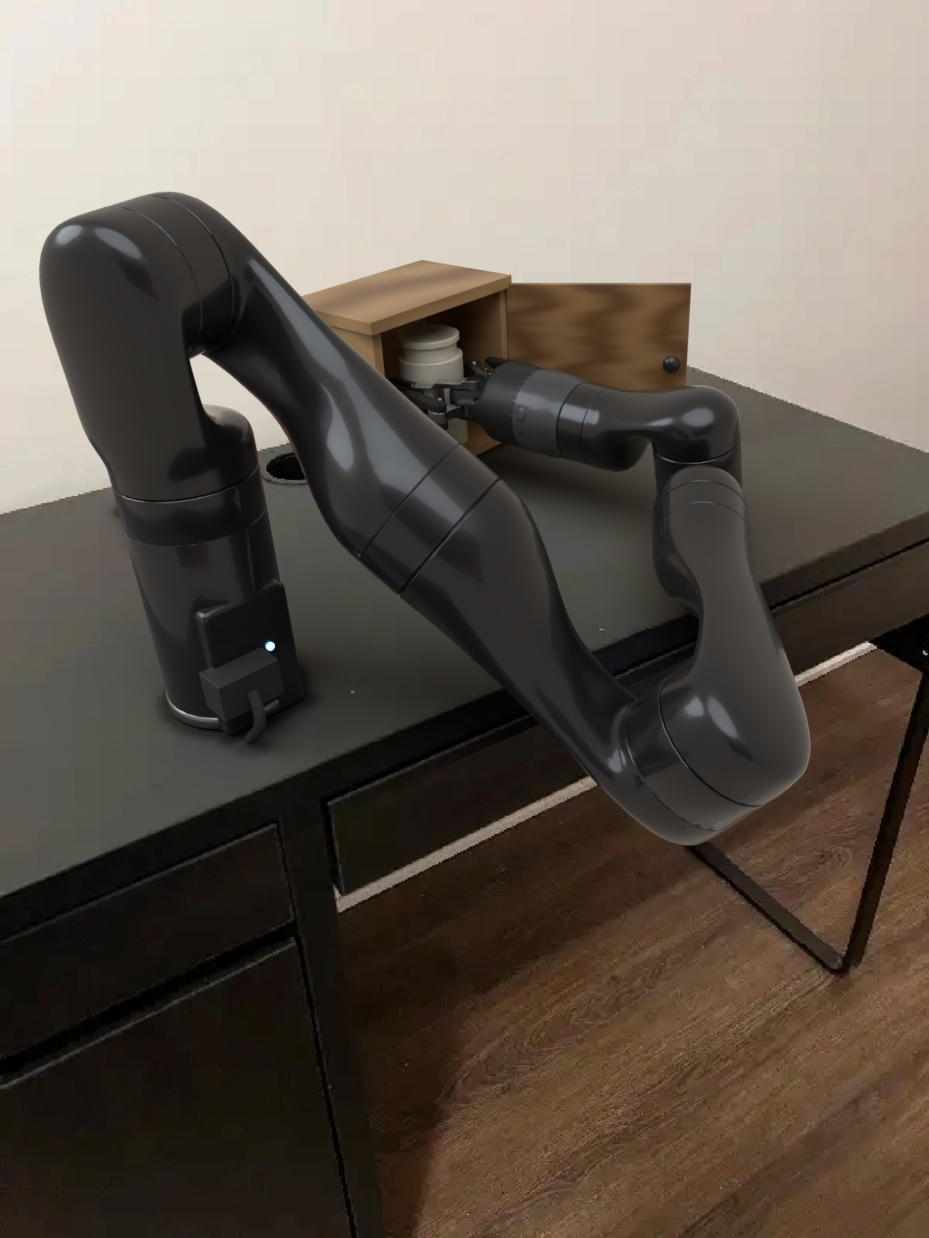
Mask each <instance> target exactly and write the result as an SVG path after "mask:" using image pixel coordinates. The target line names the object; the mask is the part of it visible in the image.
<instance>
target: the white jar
mask: <svg viewBox="0 0 929 1238" xmlns="http://www.w3.org/2000/svg"><path fill="white" fill-rule="evenodd" d="M396 332H397V336H398V343H399V345H400V346H402V352H401V353H400V354H399V355H398V365H399V375H400V378H402V379H405V380H409V381H413V382H417V383H424V384H434V383H435V382H436V381H437V380H438V379H460V380H463V379H464V366H463V352H462V350H461V349H459V348H457V341H458V340H459V331H458V330H457V329H456V328H453V327H450V326H443V325H428V326H420V327H415V328H411V329H409V328H402V329H399V330H397V331H396ZM449 390H450V389H444V394H445V402H446V404H447V405H450V398H449ZM424 395H427V396H430V397H433V398H434V396H433V394H432V393H424ZM446 431H447V432H448V433H450V434H451V435H452V436H453V437H454V438H456V439H457V440H458V441H459V442H460V443H461V444H462V445H464V444H465V443H466V442H467V441H468V424H467V421H465V420H461V419H459V418H454V419H451V420H449V421H448V429H447V430H446Z"/></svg>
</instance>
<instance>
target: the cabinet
mask: <svg viewBox="0 0 929 1238" xmlns="http://www.w3.org/2000/svg"><path fill="white" fill-rule="evenodd" d="M512 279H513V278H512V274H508V273H507V274H506V273H501V272H496V271H490V270H484V269H478V268H472V267H466V266H461V265H454V264H450V263H449V264H448V263H443V262H437V261H431V260H425V259H420V260H417V261H413V262H410V263H407V264H403V265H400V266H397V267H394V268H390V269H387V270H383V271H380V272H376V273H373V274H370V275H367V276H364V277H360V278H356V279H353V280H350V281H347V282H344V283H340V284H337V285H334V286H330V287H327V288H324V289H321V290H317V291H314V292H310V293H307V294H304V295H300V296H301V297H302V298H303V299H304V300H305V301H306V302H307V303H308V305H309V306H310V307H311V308H312V309H313V310H314V311H315V312H316V313H317V314H318V315H319V316H320V317H321V318H322V319H323V320H324V321H325V322H326V323H327V324H328V325H329V326H330V327H331V328H332V329H333V330H334V331H335V332H336V333H337V334H338V335H339V336H340V337H341V338H342V339H343V340H344V341H345V342H346V343H348V344H349V345H350V346H351V347H352V348H353V349H354V350H355V351H356V352H358V353H359V354H360V355H361V356H362V357H363V358H364V359H365V360H367V361H368V362H369V363H370V364H371V365H372V366H373V367H374V368H375V369H376V370H378V371H379V372H380V373H381V374H382V375H383V376H384V377H385V378H386V379H389V378H392V377H398V378H400V375H399V365H398V355H399V354H400V353H401V352H402V346H400V345H399V343H398V336H397V332H396V331H397V330H399V329H402V328H409V329H411V328H415V327H420V326H428V325H443V326H450V327H453V328H456V329H457V330H458V331H459V340H458V341H457V348H459V349H461V350H462V352H463V362H467V363H468V362H470V361H473V360H476V361H480V362H481V363H485V358H487V357H490V356H491V357H497V358H502V359H508V360H513V361H519V362H524V363H530V364H534V365H535V366H538V367H543V368H547V369H551V370H555V371H560V372H564V373H568V374H572V375H575V376H577V377H580V378H582V379H584V380H587V381H590V382H594V383H598V384H602V385H607V386H611V387H615V388H619V389H623V390H646V389H663V388H674V387H682V386H687V373H688V372H687V370H688V355H689V354H688V353H689V338H690V337H689V336H690V318H691V317H690V316H691V299H692V282H512V281H513V280H512ZM467 424H468V441H467V442H466V443H465V444H464V446H465V447H466V448H467V449H468V450H469V451H470V452H471V453H473V454H474V455H475V456H476V457H477V456H478V455H480V454H482V453H484V452H486V451H488V450H491V449H493V448H495V447H497V446H499V445H501V444H503V443H502V442H499V441H496V440H494V439H492V438H490V437H489V436H488V435H487V434H486V432H485V431H484V429H483V428H482V427H481V425H480V424H479V423H478V422H477V421H467Z"/></svg>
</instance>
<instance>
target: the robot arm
mask: <svg viewBox="0 0 929 1238" xmlns="http://www.w3.org/2000/svg"><path fill="white" fill-rule="evenodd" d="M38 280H39V289H40V290H39V291H40V297H41V303H42V306H43V311H44V315H45V319H46V322H47V326H48V329H49V332H50V335H51V338H52V341H53V344H54V347H55V351H56V353H57V356H58V359H59V362H60V365H61V369H62V371H63V374H64V377H65V380H66V382H67V385H68V389H69V392H70V395H71V397H72V401H73V404H74V407H75V410H76V414H77V416H78V419H79V423H80V424H81V427H82V429H83V432H84V434H85V436H86V438H87V440H88V441H89V443H90V445H91V446H92V448H93V450H94V451H95V452H96V454H97V455H98V457H99V458H100V460H101V461H102V463H103V464H104V466H105V468H106V471H107V475H108V479H109V483H110V485H111V489H112V491H113V492H112V493H113V497H114V500H115V504H116V507H117V508H116V509H117V511H118V515H119V518H120V522H121V526H122V530H123V534H124V539H125V542H126V544H127V549H128V554H129V557H130V561H131V564H132V568H133V572H134V577H135V579H136V584H137V587H138V591H139V593H140V594H139V595H140V598H141V602H142V606H143V609H144V613H145V617H146V622H147V624H148V628H149V633H150V636H151V641H152V643H153V648H154V651H155V655H156V658H157V662H158V664H159V668H160V673H161V676H162V679H163V683H164V687H165V695H166V701H167V704H168V708H169V710H170V712H171V713H172V715H173V716H174V717H175V718H177V719H178V720H179V721H181V722H182V723H184V724H187V725H190V726H192V727H196V728H200V729H201V728H202V729H208V730H209V729H210V730H220V731H223V732H224V734H226V735H228V736H233V735H234V734H235V735H236V734H237V733H239V732H241V731H243V730H245V729H246V728H248V727H250V726H252V728H251V729H250V730H249V731H248V732H247V734H245V737H244V741H245V742H246V744H248V745H251V746H252V745H256V743H257V741H258V740H260V739H261V738H262V736H263V735H264V733H265V732H266V729H267V718H268V717H270V716H272V715H274V714H276V713H277V712H279V711H281V710H283V709H285V708H287V707H289V706H291V705H292V704H295V703H296V702H299V701H300V700H303V699H304V698H305V692H304V686H303V682H302V676H301V671H300V664H299V659H298V654H297V649H296V648H297V647H296V641H295V638H294V637H295V636H294V631H293V626H292V620H291V615H290V609H289V603H288V599H287V592H286V587H285V584H284V583H282V582H281V576H280V571H279V566H278V560H277V554H276V549H275V544H274V539H273V532H272V527H271V522H270V516H269V511H268V505H267V498H266V494H265V493H266V492H265V488H264V482H263V477H262V471H261V465H260V460H259V459H260V458H259V453H258V448H257V443H256V438H255V432H254V429H253V427H252V424H251V423H250V421H249V419H248V418H247V417H246V416H245V415H243V414H242V413H241V412H239V411H237V410H236V409H232V408H231V407H226V406H222V405H216V404H206V403H205V404H204V403H203V402H202V398H201V396H200V393H199V389H198V384H197V382H196V377H195V374H194V370H193V367H192V363H191V360H192V359H194V358H196V357H198V356H200V355H201V356H203V357H205V358H206V359H208V360H210V362H213V363H214V364H215V365H216V366H217V367H219V368H220V369H222V370H223V371H225V372H226V373H228V374H229V376H231V377H233V379H234V380H235V381H237V382H238V384H240V385H241V386H242V387H243V388H244V389H245V390H247V391H248V392H249V393H250V394H251V395H252V396H253V397H254V398H255V399H256V400H258V402H260V403H261V405H263V407H264V408H265V409H266V410H267V411H268V413H270V415H272V417H273V418H274V420H275V421H276V422H277V423H278V425H279V427H280V428H281V430H282V431H283V433H284V434H285V436H286V438H287V440H288V442H289V444H290V446H291V448H292V450H293V453H294V455H295V457H296V460H297V462H298V465H299V466H300V470H301V472H302V474H303V477H304V479H305V481H306V484H307V486H308V489H309V491H310V493H311V496H312V498H313V500H314V502H315V505H316V507H317V509H318V511H319V513H320V515H321V517H322V518H323V521H324V522H325V524H326V525H327V528H328V529H329V531H330V533H332V535H333V536H334V538H335V539H336V541H337V542H339V545H341V547H343V548H344V550H345V551H346V552H348V553H349V554H350V555H351V556H352V557H353V558H354V559H355V560H356V561H357V562H359V563H360V564H361V566H363V567H364V568H365V569H367V570H368V571H369V572H370V573H371V574H372V575H373V576H374V577H376V578H377V579H378V580H379V581H380V582H382V583H383V585H385V586H386V587H387V588H389V590H391V591H392V592H393V593H394V594H395V595H396V596H398V595H399V598H400V599H401V600H402V601H403V602H405V603H406V604H407V605H409V606H410V607H411V608H413V609H414V610H415V611H416V612H417V613H419V614H420V615H421V616H422V617H424V618H425V619H426V620H427V621H429V622H430V623H431V624H432V625H433V626H435V627H436V629H438V630H439V631H440V632H441V633H442V634H443V635H445V636H446V637H447V638H448V639H449V640H451V641H452V643H454V644H455V645H456V646H457V647H458V648H460V650H461V651H462V652H463V653H465V654H466V655H467V656H468V657H469V658H470V659H472V660H473V661H474V662H475V663H476V664H477V665H478V666H479V667H480V668H481V669H482V670H483V671H484V672H486V673H487V675H489V676H490V677H491V678H492V679H493V680H494V681H496V683H498V684H499V685H500V686H501V687H502V688H503V689H504V690H506V692H508V693H509V694H510V695H511V696H512V697H513V698H514V699H515V700H516V701H517V702H518V703H519V704H520V705H521V706H522V707H523V708H524V709H525V710H526V711H527V712H528V713H529V715H531V716H532V717H533V718H534V719H535V720H536V722H538V723H539V725H540V726H542V728H543V729H544V730H545V731H546V732H547V733H548V734H549V735H550V737H552V738H553V739H554V741H556V743H557V744H558V745H559V746H560V747H561V748H562V749H563V750H564V751H565V752H566V753H567V754H568V756H570V757H571V758H572V759H573V760H574V762H575V763H576V764H577V765H578V766H579V767H580V768H581V769H582V770H583V771H584V772H585V773H586V774H587V775H588V776H589V778H590V779H592V781H594V783H595V784H596V785H598V787H599V788H600V789H601V790H602V791H603V792H604V793H605V794H606V795H607V796H608V797H609V798H610V799H611V800H612V801H613V802H614V803H615V804H616V805H617V806H618V807H619V808H620V809H621V810H622V811H623V812H625V814H627V815H628V816H629V817H630V818H631V819H632V820H634V822H636V823H637V824H639V825H640V826H641V827H643V828H644V829H646V830H647V831H649V832H650V833H651V834H653V835H655V836H656V837H658V838H659V839H661V840H664V841H665V842H669V843H672V844H675V845H678V846H697V845H701V844H703V843H706V842H708V841H710V840H713V839H714V838H716V837H718V836H719V835H720V834H722V833H724V832H726V831H728V830H729V829H730V828H732V827H733V826H735V825H736V824H738V823H740V822H741V821H743V820H744V819H746V818H747V817H749V816H750V815H752V814H754V813H755V812H756V811H758V810H760V809H761V808H762V807H764V806H766V805H767V804H768V803H770V802H772V801H774V800H775V799H776V798H778V797H779V796H780V795H782V794H783V793H785V792H786V791H787V790H788V789H790V788H791V787H792V786H793V785H794V784H795V783H797V782H798V781H799V780H800V779H801V777H803V775H804V774H805V773H806V770H807V769H808V766H809V762H810V759H811V750H812V743H811V733H810V727H809V722H808V717H807V712H806V710H805V709H806V708H805V706H804V702H803V699H802V696H801V693H800V690H799V687H798V684H797V681H796V678H795V675H794V673H793V669H792V667H791V664H790V662H789V659H788V656H787V653H786V650H785V647H784V645H783V641H782V639H781V636H780V633H779V630H778V628H777V625H776V622H775V620H774V618H773V614H772V613H771V610H770V607H769V604H768V603H767V600H766V597H765V594H764V591H763V589H762V586H761V583H760V580H759V577H758V574H757V569H756V566H755V560H754V554H753V544H752V537H751V536H752V534H751V533H752V532H751V525H750V517H749V516H750V515H749V508H748V502H747V499H746V497H745V493H744V488H743V484H744V483H743V462H742V430H741V429H742V427H741V425H742V424H741V414H740V410H739V408H738V406H737V404H736V402H735V401H734V400H733V399H732V398H731V397H730V396H729V395H728V394H726V393H725V392H723V391H722V390H720V389H717V388H715V387H713V386H709V385H703V384H702V385H701V384H696V385H694V384H693V385H686V386H682V387H674V388H663V389H646V390H623V389H619V388H615V387H611V386H607V385H602V384H598V383H594V382H590V381H587V380H584V379H582V378H580V377H577V376H575V375H572V374H568V373H564V372H560V371H555V370H551V369H547V368H543V367H538V366H535V365H534V364H530V363H524V362H519V361H513V360H508V359H502V358H497V357H491V356H490V357H487V358H485V363H481V362H480V361H476V360H473V361H470V362H468V363H467V362H463V366H464V379H463V380H460V379H438V380H437V381H436V382H435V383H434V384H424V383H417V382H413V381H409V380H405V379H402V378H398V377H392V378H389V379H386V378H385V377H384V376H383V375H382V374H381V373H380V372H379V371H378V370H376V369H375V368H374V367H373V366H372V365H371V364H370V363H369V362H368V361H367V360H365V359H364V358H363V357H362V356H361V355H360V354H359V353H358V352H356V351H355V350H354V349H353V348H352V347H351V346H350V345H349V344H348V343H346V342H345V341H344V340H343V339H342V338H341V337H340V336H339V335H338V334H337V333H336V332H335V331H334V330H333V329H332V328H331V327H330V326H329V325H328V324H327V323H326V322H325V321H324V320H323V319H322V318H321V317H320V316H319V315H318V314H317V313H316V312H315V311H314V310H313V309H312V308H311V307H310V306H309V305H308V303H307V302H306V301H305V300H304V299H303V298H302V297H301V296H302V295H300V293H298V291H297V290H296V289H295V288H294V287H293V286H292V285H291V284H290V283H289V282H288V281H287V279H286V278H285V277H284V276H283V275H282V274H281V273H280V272H279V271H278V269H276V268H275V266H274V265H273V264H272V263H271V262H270V261H269V260H268V259H267V258H266V257H265V256H264V255H263V253H262V252H261V251H260V250H259V249H258V248H257V247H256V246H255V245H254V244H253V242H252V241H250V240H249V238H248V237H247V236H246V235H245V234H244V233H243V232H242V231H241V230H240V229H239V228H238V227H237V226H236V225H235V224H233V223H232V222H231V221H230V220H229V219H228V218H227V217H225V216H224V215H223V213H220V211H218V210H217V209H216V208H214V207H213V206H211V205H210V204H208V203H207V202H205V201H203V200H202V199H200V198H197V197H195V196H192V195H190V194H186V193H183V192H177V191H156V192H151V193H146V194H143V195H140V196H136V197H133V198H129V199H125V200H123V201H120V202H119V201H118V202H117V203H113V204H110V205H105V206H103V207H100V208H97V209H93V210H90V211H87V212H84V213H81V214H78V215H74V216H72V217H70V218H68V219H66V220H64V221H62V222H61V223H58V224H57V225H56V226H55V227H54V228H53V229H52V230H51V232H50V233H49V234H48V235H47V237H46V238H45V240H44V243H43V245H42V248H41V251H40V257H39V265H38ZM444 389H450V390H449V398H450V405H447V404H446V402H445V394H444ZM424 393H432V394H433V396H434V398H433V397H430V396H427V395H424ZM454 418H459V419H461V420H465V421H477V422H478V423H479V424H480V425H481V427H482V428H483V429H484V431H485V432H486V434H487V435H488V436H489V437H490V438H492V439H494V440H496V441H499V442H502V443H501V444H506V445H509V446H512V447H515V448H520V449H522V450H526V451H529V452H532V453H535V454H539V455H542V456H546V457H550V458H556V459H564V460H569V461H572V462H575V463H579V464H582V465H586V466H589V467H592V468H596V469H600V470H603V471H608V472H614V473H619V472H625V471H629V470H630V469H632V468H633V467H634V466H636V465H637V464H638V463H639V462H640V461H641V459H642V457H643V456H644V454H645V452H646V451H647V448H648V445H649V441H650V442H651V448H652V457H653V468H654V478H655V489H656V495H655V499H654V502H653V503H654V504H653V508H652V530H651V533H652V534H651V535H652V536H651V537H652V538H651V539H652V540H651V543H652V544H651V546H652V548H651V549H652V551H651V552H652V553H651V554H652V563H653V566H654V570H655V575H656V577H657V579H658V581H659V584H660V585H661V587H662V589H663V591H664V592H665V594H666V595H667V596H668V597H669V598H670V599H671V601H672V602H674V603H675V604H677V606H679V607H680V608H681V609H682V610H684V611H686V612H687V613H688V614H689V615H691V616H693V617H694V618H696V619H697V620H698V632H697V638H696V644H695V647H694V651H693V655H692V656H691V658H690V660H689V661H687V662H685V663H684V664H682V665H679V666H678V667H676V668H675V669H674V670H672V671H671V672H670V673H669V674H668V675H666V676H665V677H664V678H663V679H662V680H661V681H659V682H658V683H657V684H656V685H654V686H653V687H651V689H650V690H649V691H647V692H646V693H645V694H643V695H642V696H640V697H639V696H638V695H636V694H635V693H633V692H632V691H630V689H628V688H627V687H626V686H625V685H624V684H623V683H621V682H620V681H619V680H618V679H617V678H616V677H615V676H614V675H613V674H612V673H611V672H610V671H608V669H607V668H606V667H605V666H604V665H603V664H602V663H601V661H600V660H599V659H598V658H597V657H596V656H595V655H594V654H593V653H592V652H591V650H590V649H589V648H588V647H587V645H586V644H585V642H584V641H583V640H582V638H581V636H580V635H579V633H578V632H577V630H576V628H575V626H574V624H573V622H572V620H571V618H570V616H569V613H568V610H567V608H566V606H565V603H564V600H563V596H562V594H561V589H560V588H559V584H558V581H557V578H556V575H555V572H554V568H553V566H552V562H551V560H550V557H549V553H548V551H547V548H546V545H545V542H544V540H543V538H542V537H543V536H542V535H541V532H540V530H539V527H538V525H537V523H536V521H535V518H534V517H533V515H532V513H531V511H530V509H529V507H528V506H527V505H526V503H525V501H524V499H522V497H521V496H520V495H519V494H518V493H517V492H516V491H515V490H514V489H513V488H512V487H511V486H510V485H509V484H508V483H507V482H506V481H505V480H504V479H502V478H501V479H500V476H499V475H498V474H497V473H495V472H494V471H493V469H491V468H490V467H489V466H488V465H487V464H485V463H484V462H483V461H482V460H481V459H480V458H478V457H477V455H476V456H475V455H474V454H473V453H471V452H470V451H469V450H468V449H467V448H466V447H465V446H464V445H462V444H461V443H460V442H459V441H458V440H457V439H456V438H454V437H453V436H452V435H451V434H450V433H448V432H447V431H446V430H447V429H448V421H449V420H451V419H454Z"/></svg>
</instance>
